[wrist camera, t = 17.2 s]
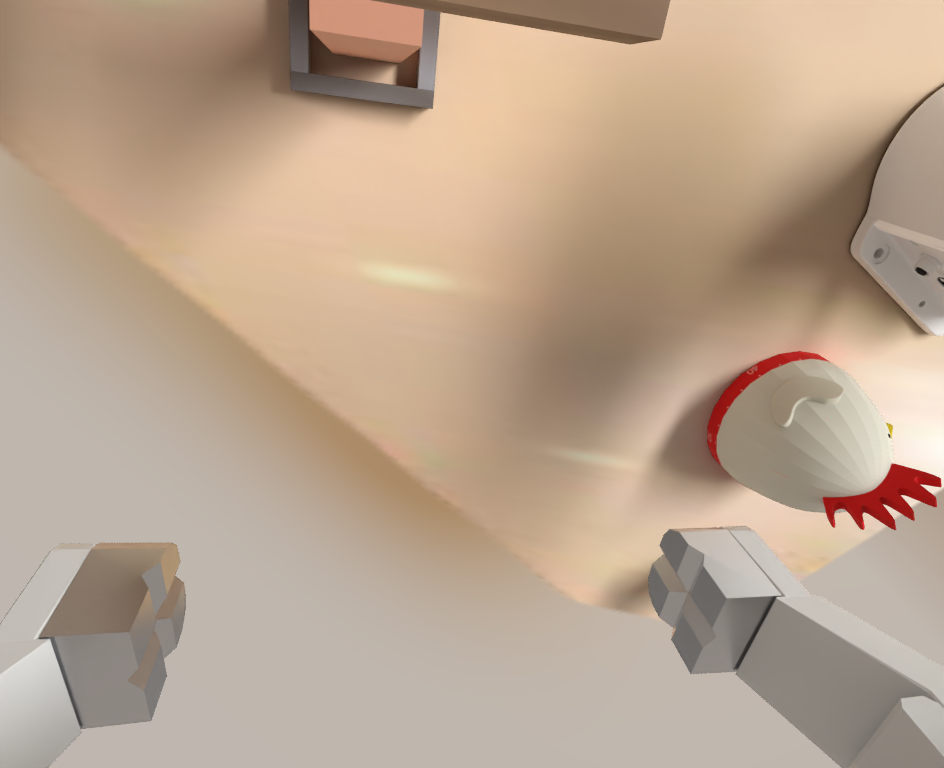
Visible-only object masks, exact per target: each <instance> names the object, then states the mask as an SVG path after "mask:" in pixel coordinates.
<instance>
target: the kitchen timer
mask: <svg viewBox="0 0 944 768" xmlns="http://www.w3.org/2000/svg"><path fill="white" fill-rule="evenodd" d="M892 430H893V426H892V425H891V424H888V423H886V422H885V420H884V419H883V417H882V415H881V414H880V412H879V411H878V409H877V408H876V406H875V405H874V403H873V402H872V401H871V399H870V398H869V397H868V395H867V394H866V393H865V391H864V390H863V389H862V388H861V386H860V385H859V384H858V383H857V382H856V380H855V379H854V378H853V377H852V376H851V375H849V374H848V373H847V372H846V371H844V370H843V369H841V368H840V367H838V366H836V365H835V364H833V363H831V362H830V361H828V360H826V359H825V358H823V357H821V356H819V355H818V354H814V353H807V352H801V351H798V352H791V353H784V354H779V355H776V356H774V357H771V358H769V359H766V360H764V361H761V362H759V363H757V364H756V365H754V366H753V367H751V368H750V369H748V370H747V371H746V372H744V373H743V374H741V375H740V376H739V377H738V378H737V379H736V380H735V381H734V382H733V383H732V384H731V385H730V386H729V387H728V388H727V389H726V390H725V391H724V393H723V394H722V396H721V397H720V399H719V401H718V402H717V404H716V405H715V407H714V409H713V411H712V415H711V418H710V421H709V424H708V432H707V443H708V446H709V449H710V451H711V454H712V456H713V458H714V459H715V460H716V461H717V462H718V463H719V464H720V465H721V466H722V467H723V468H724V469H725V470H726V471H727V472H728V473H729V474H730V475H731V476H732V477H733V478H734V479H735V480H737V481H738V482H739V483H741V484H742V485H744V486H746V487H748V488H750V489H751V490H753V491H755V492H757V493H759V494H761V495H763V496H765V497H767V498H769V499H772V500H774V501H776V502H779V503H781V504H783V505H786V506H789V507H792V508H795V509H799V510H804V511H810V512H822V513H826V514H827V517H828V520H829V522H830V524H831V525H832V527H833V528H835V519H834V513H840V512H846V511H847V512H848V513H849V514H850V515H851V516H852V518H853V519H854V521H855V522H856V524H857V525H858V526H859V528H860V529H862V530H863V529H864V528H865V527H864V521H863V516H862V514H863V513H864V512H865V513H868V514H870V515H871V516H873V517H874V518H876V519H877V520H879V521H880V522H882V523H883V524H885V525H887V526H888V527H890V528H891V529H894V530H896V525H895V520H894V519H893V517H892V516H891V515H890V513H889V512H888V511H887V509H886V508H885V507H884V506H883V504H885V505H887V506H889V507H891V508H893V509H895V510H896V511H898V512H900V513H901V514H903V515H904V516H906V517H908V518H909V519H911V520H915V519H914V512H913V510H912V508H911V507H910V506H909V505H908V503H907V502H906V501H905V500H904V499H903V498H902V496H901V495H906V496H909V497H911V498H913V499H916V500H918V501H921V502H923V503H925V504H928V505H931V506H933V507H937V501H936V497H935V496H934V495H932V494H931V493H930V492H929V491H927V490H926V489H925V488H924V487H922V486H921V485H920V484H922V485H929V486H935V487H941V478H939V477H937V476H934V475H932V474H929V473H926V472H923V471H919V470H916V469H912V468H908V467H904V466H901V465H897V464H894V453H893V445H892Z"/></svg>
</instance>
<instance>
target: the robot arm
mask: <svg viewBox="0 0 944 768" xmlns="http://www.w3.org/2000/svg"><path fill="white" fill-rule="evenodd" d="M850 250H851V254H852V256H853V257H854V258H855V259H856V260H857V261H858V262H859V263H860V264H861V266H862V267H863V268H864V269H865V270H866V271H867V272H868V273H869V274H870V275H871V276H872V277H873V278H874V279H875V280H876V281H877V282H878V283H879V284H880V285H881V286H882V288H883V289H884V290H885V291H886V292H887V293H888V294H889V295H890V296H891V297H892V298H893V299H894V300H895V301H896V302H897V303H898V304H899V305H900V306H901V307H902V308H903V310H904V311H905V312H906V313H907V314H908V315H909V316H910V317H911V318H912V319H913V320H914V321H915V322H916V323H917V324H918V325H919V326H920V327H921V328H922V329H923V330H924V331H925V332H926V333H928V334H932V335H935V336H941V335H944V87H942V88H941V89H939V90H938V91H937V92H935V93H934V94H933V95H932V96H930V97H929V98H928V99H927V100H926V101H925V102H924V103H923V104H922V105H921V106H919V107H918V108H917V110H916V111H915V112H914V113H913V114H912V115H911V116H910V117H909V118H908V120H907V121H906V122H905V123H904V125H903V126H902V127H901V129H900V130H899V131H898V133H897V134H896V136H895V137H894V139H893V141H892V142H891V144H890V146H889V147H888V149H887V151H886V153H885V155H884V157H883V159H882V161H881V164H880V166H879V169H878V171H877V174H876V177H875V181H874V184H873V189H872V194H871V198H870V203H869V207H868V211H867V214H866V216H865V218H864V219H863V221H862V223H861V225H860V227H859V228H858V230H857V232H856V234H855V236H854V238H853V241H852V244H851V249H850ZM875 251H876V252H875ZM874 253H875V254H874ZM660 547H661V549H662V551H663V553H664V554H663V555H662V556H661V557H660V558H659V559H658V560H657V561H655V562H654V563H653V564H652V568H651V571H650V574H649V577H648V581H649V594H650V598H651V601H652V604H653V606H654V608H655V610H656V612H657V614H658V616H659V617H660V618H661V619H662V620H664V621H665V622H666V623H668V624H669V625H670V626H672V627H673V632H672V638H671V640H672V641H673V643H674V645H675V647H676V648H677V650H678V652H679V654H680V656H681V658H682V659H683V661H684V663H685V664H686V666H687V668H688V670H689V672H690V674H700V673H701V674H702V673H720V672H736V675H737V676H738V677H739V678H740V679H741V680H743V681H744V682H745V683H746V684H747V685H748V686H749V687H751V688H752V689H753V690H754V691H755V692H756V693H757V694H759V695H760V696H761V697H762V698H763V699H764V700H766V702H768V703H769V704H770V705H771V706H772V707H773V708H774V709H776V710H777V711H778V712H779V713H780V714H781V715H782V716H783V717H785V718H786V719H787V720H788V721H789V722H790V723H791V724H793V725H794V726H795V727H796V728H797V729H798V730H799V731H801V732H802V733H803V734H804V735H805V736H806V737H808V738H809V739H810V740H811V741H812V742H813V743H814V744H815V745H816V746H818V747H819V748H820V749H821V750H822V751H823V752H824V753H825V754H827V755H828V756H829V757H830V758H831V759H832V760H833V761H835V762H836V763H837V764H838V765H839V766H840V767H841V768H944V667H942V666H941V665H939V664H937V663H936V662H934V661H932V660H930V659H929V658H927V657H925V656H924V655H922V654H920V653H918V652H917V651H915V650H913V649H911V648H910V647H908V646H906V645H904V644H903V643H901V642H899V641H898V640H896V639H894V638H892V637H891V636H889V635H887V634H885V633H883V632H882V631H880V630H878V629H877V628H875V627H873V626H872V625H870V624H868V623H866V622H865V621H863V620H861V619H859V618H858V617H856V616H854V615H853V614H851V613H849V612H847V611H845V610H844V609H842V608H840V607H839V606H837V605H835V604H833V603H832V602H830V601H828V600H827V599H825V598H823V597H821V596H820V595H810V594H809V593H808V591H807V590H806V589H805V588H804V587H803V586H802V585H801V583H800V582H799V581H798V580H797V579H796V578H795V577H794V575H793V574H792V573H791V572H790V571H789V570H788V569H787V567H786V566H785V565H784V564H783V563H782V562H781V561H780V559H779V558H778V557H777V556H776V555H775V554H774V553H773V552H772V550H771V549H770V548H769V547H768V546H767V545H766V544H765V542H764V541H763V540H762V539H761V538H760V537H759V536H758V534H757V533H756V532H755V531H754V530H752V529H750V528H748V527H747V526H733V527H720V528H716V527H713V528H686V529H669V530H668V531H667V532H666V533H665V534H664V535H663V538H662V540H661V543H660ZM179 563H180V557H179V553H178V548H177V545H176V544H174V543H99V544H60V545H58V546H57V547H55V548H54V549H52V550H51V551H50V552H49V554H48V555H47V557H46V558H45V559H44V561H43V562H42V564H41V565H40V567H39V568H38V570H37V571H36V572H35V574H34V575H33V577H32V578H31V580H30V581H29V582H28V584H27V585H26V587H25V588H24V590H23V591H22V593H21V594H20V596H19V597H18V598H17V600H16V601H15V603H14V604H13V606H12V607H11V609H10V610H9V612H8V613H7V614H6V616H5V617H4V619H3V620H2V622H1V623H0V768H48V767H49V766H50V765H51V764H52V763H53V762H54V761H55V760H56V759H57V758H58V757H59V756H60V755H61V754H62V753H63V752H64V750H66V749H67V748H68V746H70V745H71V743H72V742H73V741H74V740H75V739H76V738H77V737H78V736H79V735H80V734H81V729H85V728H94V727H103V726H110V725H111V726H112V725H120V724H128V723H137V722H146V721H151V720H152V717H153V714H154V711H155V708H156V705H157V702H158V699H159V697H160V694H161V691H162V688H163V685H164V682H165V679H166V677H167V674H166V669H165V663H164V658H165V657H166V656H167V655H169V654H170V653H171V652H172V651H173V650H174V649H175V648H176V647H177V644H178V641H179V638H180V635H181V632H182V628H183V621H184V616H185V609H186V594H185V587H184V583H183V582H182V581H181V580H180V579H179V578H177V577H176V576H175V574H176V571H177V569H178V566H179Z"/></svg>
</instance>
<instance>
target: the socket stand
mask: <svg viewBox="0 0 944 768" xmlns="http://www.w3.org/2000/svg"><path fill="white" fill-rule="evenodd" d="M372 1H378V2H383V3H389V4H395V5H401V6H407V7H413V8H419V9H424V19H423V33H422V47H421V48H419V52H418V67H417V82H416V88H411V87H404V86H396V85H389V84H382V83H375V82H368V81H361V80H354V79H346V78H339V77H332V76H325V75H318V74H311V72H310V12H309V0H289V30H290V69H291V90H296V91H303V92H311V93H319V94H326V95H334V96H341V97H349V98H356V99H364V100H371V101H379V102H386V103H394V104H401V105H409V106H416V107H424V108H431V109H433V98H434V86H435V73H436V61H437V48H438V36H439V23H440V12H442V13H448V14H454V15H460V16H466V17H472V18H478V19H484V20H489V21H495V22H501V23H507V24H513V25H519V26H525V27H531V28H536V29H542V30H548V31H554V32H560V33H566V34H572V35H578V36H584V37H589V38H595V39H601V40H607V41H613V42H619V43H625V44H636V43H642V42H648V41H654V40H660V39H661V37H662V33H663V28H664V24H665V20H666V16H667V12H668V8H669V3H670V0H372Z"/></svg>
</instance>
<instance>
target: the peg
mask: <svg viewBox="0 0 944 768" xmlns="http://www.w3.org/2000/svg"><path fill="white" fill-rule="evenodd" d="M309 12H310V30H311V31H312V32H313V33H314V34H315V35H316V36H317V37H318V38H319V39H320V40H321V41H322V42H323V43H324V44H325V45H326V47H327V48H328V49H329V50H330V51H331V52H332V53H333V54H339V55H345V56H352V57H359V58H366V59H372V60H379V61H386V62H393V63H399V64H400V63H401V62H402V61H403V60H405V59H406V58H407V57H409V56H410V55H411V54H413V53H414V52H415V51H417V50H418V49H419V48H421V47H422V33H423V19H424V9H419V8H413V7H407V6H401V5H395V4H389V3H383V2H378V1H372V0H309Z"/></svg>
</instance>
